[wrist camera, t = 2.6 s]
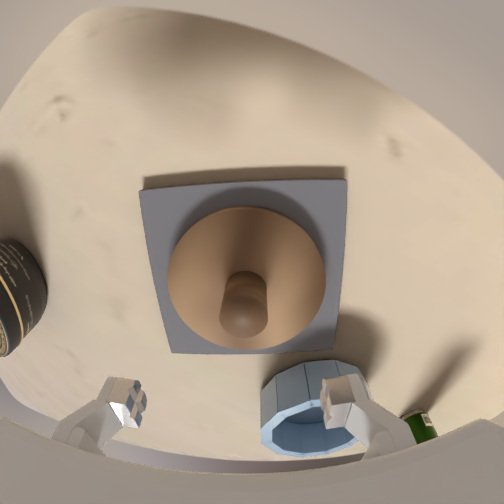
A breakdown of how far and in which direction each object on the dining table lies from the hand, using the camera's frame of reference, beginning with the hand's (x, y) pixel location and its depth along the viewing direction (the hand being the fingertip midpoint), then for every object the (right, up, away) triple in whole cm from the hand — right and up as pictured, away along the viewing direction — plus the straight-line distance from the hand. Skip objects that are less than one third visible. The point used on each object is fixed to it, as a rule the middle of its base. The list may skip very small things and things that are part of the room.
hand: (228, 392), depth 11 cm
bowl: (+7, -9, +15) cm, 19 cm away
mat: (+1, +4, +10) cm, 11 cm away
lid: (+1, +4, +9) cm, 10 cm away
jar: (-23, +3, +11) cm, 26 cm away
